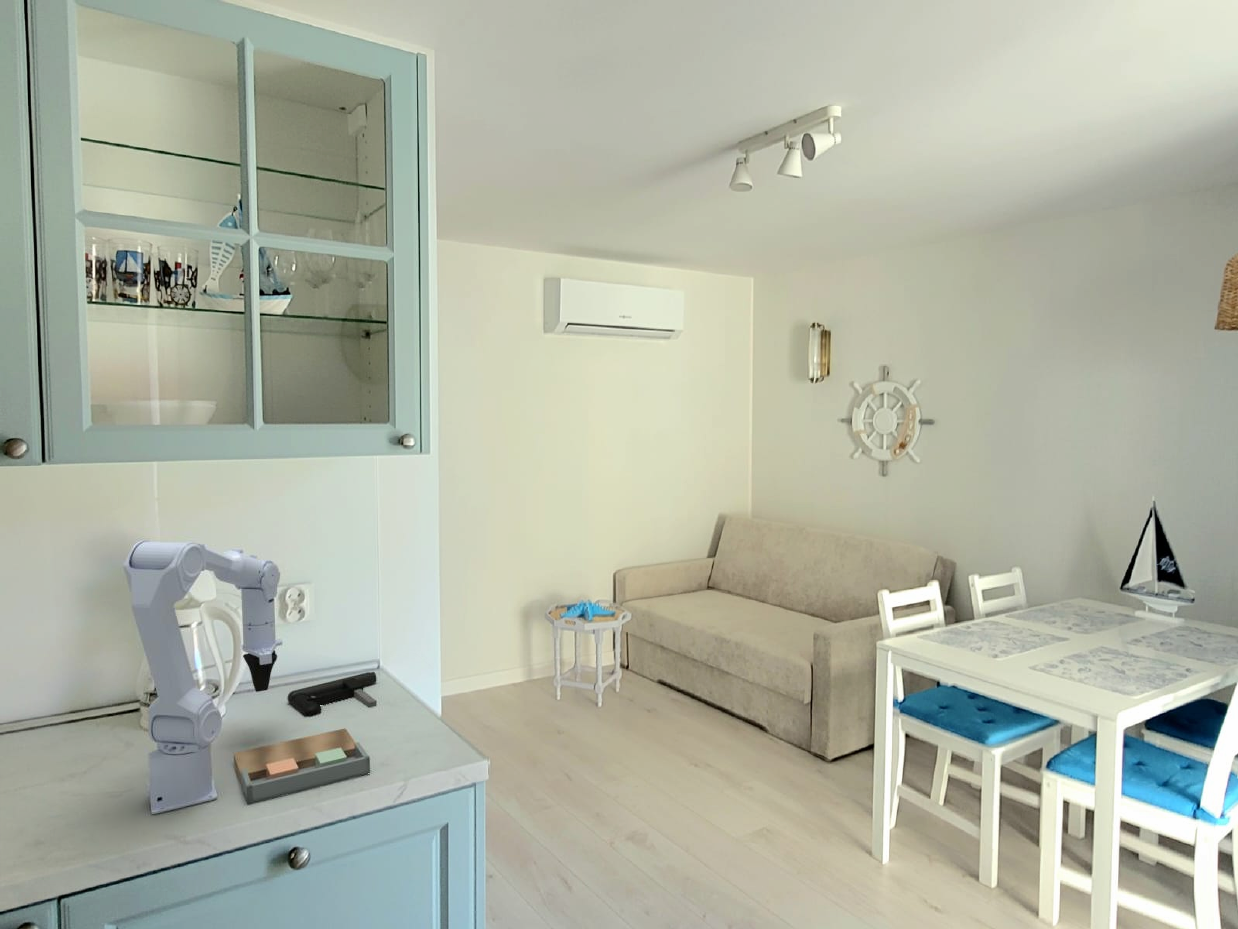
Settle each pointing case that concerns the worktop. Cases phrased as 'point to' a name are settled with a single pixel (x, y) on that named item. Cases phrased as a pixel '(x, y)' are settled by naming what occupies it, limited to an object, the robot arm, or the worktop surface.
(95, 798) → the worktop surface
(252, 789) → the tray
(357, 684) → the door handle
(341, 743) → the walnut board
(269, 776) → the terracotta tile
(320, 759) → the sage tile
